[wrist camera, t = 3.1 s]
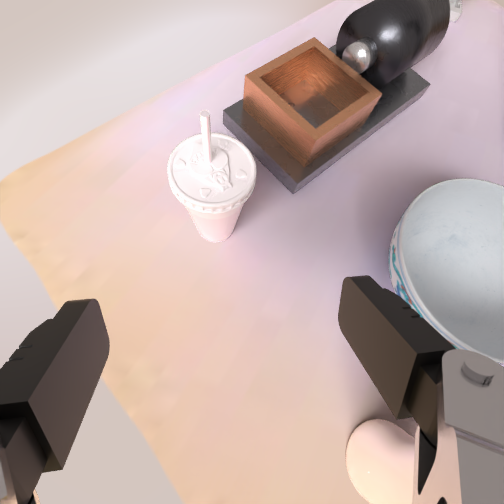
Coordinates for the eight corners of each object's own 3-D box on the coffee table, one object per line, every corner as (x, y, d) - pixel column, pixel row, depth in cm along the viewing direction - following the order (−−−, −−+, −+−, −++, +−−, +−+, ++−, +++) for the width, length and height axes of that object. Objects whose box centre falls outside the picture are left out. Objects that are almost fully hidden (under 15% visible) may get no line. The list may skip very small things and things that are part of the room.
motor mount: (354, 44, 41) (394, -48, 32) (420, 97, 39) (483, 14, 29) (223, 123, 34) (223, 35, 25) (293, 194, 32) (322, 125, 22)
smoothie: (225, 188, 31) (227, 64, 18) (259, 235, 30) (288, 137, 16) (172, 216, 29) (130, 102, 16) (204, 267, 28) (188, 187, 15)
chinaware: (521, 280, 31) (613, 257, 23) (460, 400, 26) (551, 417, 19) (403, 193, 33) (454, 148, 26) (327, 288, 28) (363, 265, 21)
